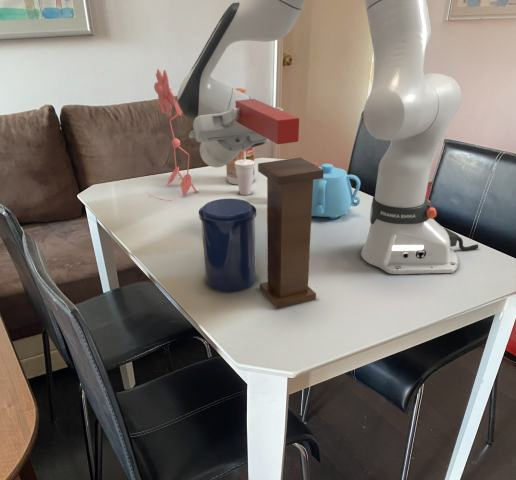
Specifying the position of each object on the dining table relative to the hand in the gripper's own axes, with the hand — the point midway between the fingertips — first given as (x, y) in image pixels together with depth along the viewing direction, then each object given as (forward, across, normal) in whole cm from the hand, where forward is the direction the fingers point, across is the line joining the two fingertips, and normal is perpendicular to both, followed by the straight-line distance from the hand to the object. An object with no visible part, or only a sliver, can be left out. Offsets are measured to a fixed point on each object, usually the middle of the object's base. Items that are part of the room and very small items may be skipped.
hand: (250, 110), depth 102 cm
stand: (-1, 0, +38) cm, 38 cm away
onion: (-52, +39, +9) cm, 65 cm away
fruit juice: (-67, +20, +1) cm, 70 cm away
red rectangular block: (+5, 0, +6) cm, 7 cm away
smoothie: (-56, +17, +7) cm, 59 cm away
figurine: (-66, -4, +1) cm, 67 cm away
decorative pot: (-34, +31, +19) cm, 50 cm away
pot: (-11, -8, +32) cm, 35 cm away
